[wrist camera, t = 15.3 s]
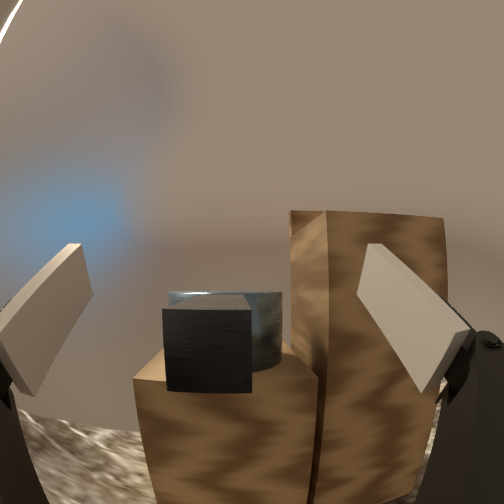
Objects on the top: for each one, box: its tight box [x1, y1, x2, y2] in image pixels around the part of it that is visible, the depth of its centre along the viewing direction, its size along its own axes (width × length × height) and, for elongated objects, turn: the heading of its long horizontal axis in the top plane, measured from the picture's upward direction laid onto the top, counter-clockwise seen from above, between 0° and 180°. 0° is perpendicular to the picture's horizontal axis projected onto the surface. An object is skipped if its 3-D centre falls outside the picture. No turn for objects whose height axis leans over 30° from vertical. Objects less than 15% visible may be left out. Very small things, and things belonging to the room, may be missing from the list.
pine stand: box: [133, 211, 448, 504], centre depth 25 cm, size 26×14×33 cm, turn 94°
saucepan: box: [162, 290, 282, 394], centre depth 19 cm, size 10×21×6 cm, turn 3°
